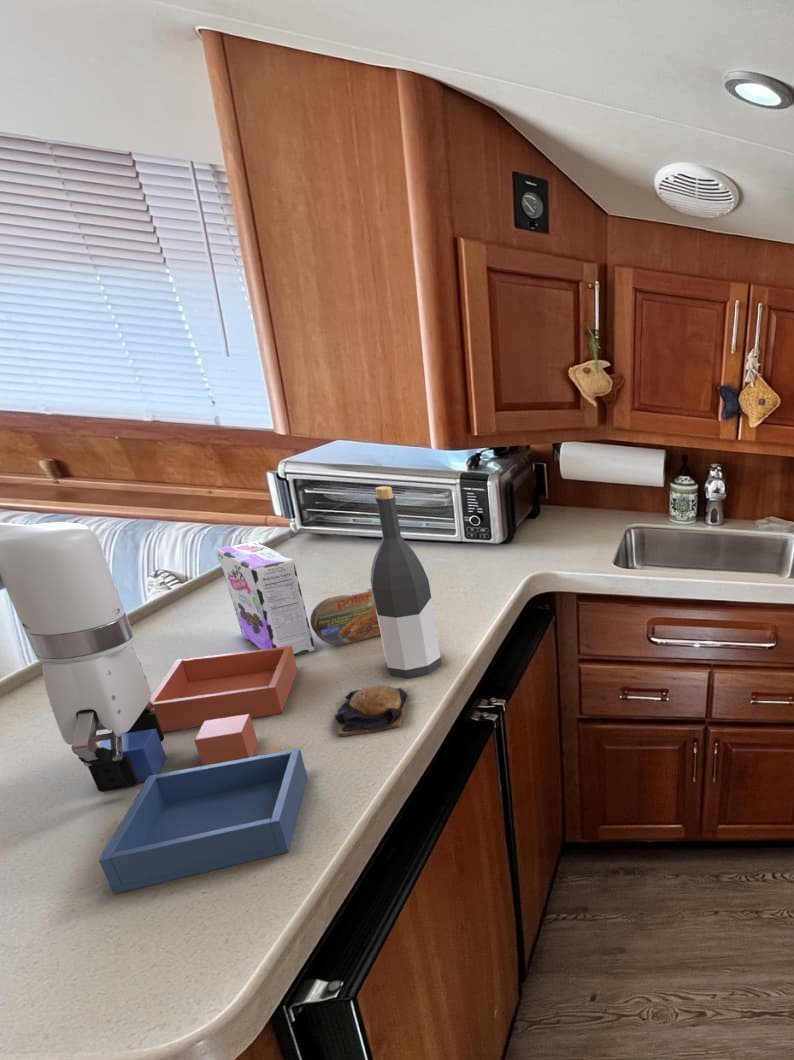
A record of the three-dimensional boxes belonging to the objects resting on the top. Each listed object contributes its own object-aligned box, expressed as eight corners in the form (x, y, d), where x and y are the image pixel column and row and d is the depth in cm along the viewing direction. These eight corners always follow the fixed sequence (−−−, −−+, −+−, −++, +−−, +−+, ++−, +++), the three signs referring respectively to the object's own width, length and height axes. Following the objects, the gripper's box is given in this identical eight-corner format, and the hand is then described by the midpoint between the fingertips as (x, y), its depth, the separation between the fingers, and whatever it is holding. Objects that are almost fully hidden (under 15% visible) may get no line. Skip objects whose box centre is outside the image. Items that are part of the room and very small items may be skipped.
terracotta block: (204, 770, 78) (193, 740, 76) (213, 750, 82) (204, 720, 80) (250, 761, 80) (241, 732, 79) (258, 742, 84) (249, 713, 82)
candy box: (241, 637, 109) (213, 546, 103) (281, 626, 114) (257, 539, 107) (276, 662, 103) (249, 567, 96) (317, 649, 107) (294, 558, 101)
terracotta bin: (153, 733, 84) (143, 706, 82) (184, 685, 95) (176, 659, 93) (282, 713, 90) (275, 687, 88) (297, 669, 101) (291, 645, 99)
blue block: (103, 789, 74) (89, 757, 72) (118, 766, 78) (105, 736, 76) (155, 779, 76) (143, 748, 74) (167, 758, 80) (156, 728, 78)
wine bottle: (395, 656, 107) (362, 481, 96) (447, 654, 109) (421, 482, 98) (378, 679, 100) (341, 493, 89) (435, 677, 102) (405, 494, 91)
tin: (320, 651, 107) (309, 605, 104) (313, 645, 108) (302, 600, 105) (415, 626, 118) (408, 584, 115) (408, 621, 120) (401, 579, 116)
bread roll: (345, 700, 95) (340, 678, 93) (410, 690, 98) (406, 669, 97) (332, 739, 86) (326, 715, 84) (404, 727, 89) (400, 704, 88)
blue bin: (113, 894, 61) (98, 860, 60) (160, 806, 72) (148, 775, 71) (288, 852, 68) (279, 820, 66) (307, 776, 79) (300, 748, 77)
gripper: (70, 610, 75) (119, 733, 82) (-11, 678, 61) (56, 820, 68) (155, 602, 78) (196, 720, 85) (97, 665, 65) (151, 801, 71)
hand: (134, 764), depth 76 cm, fingers open, 8 cm apart
